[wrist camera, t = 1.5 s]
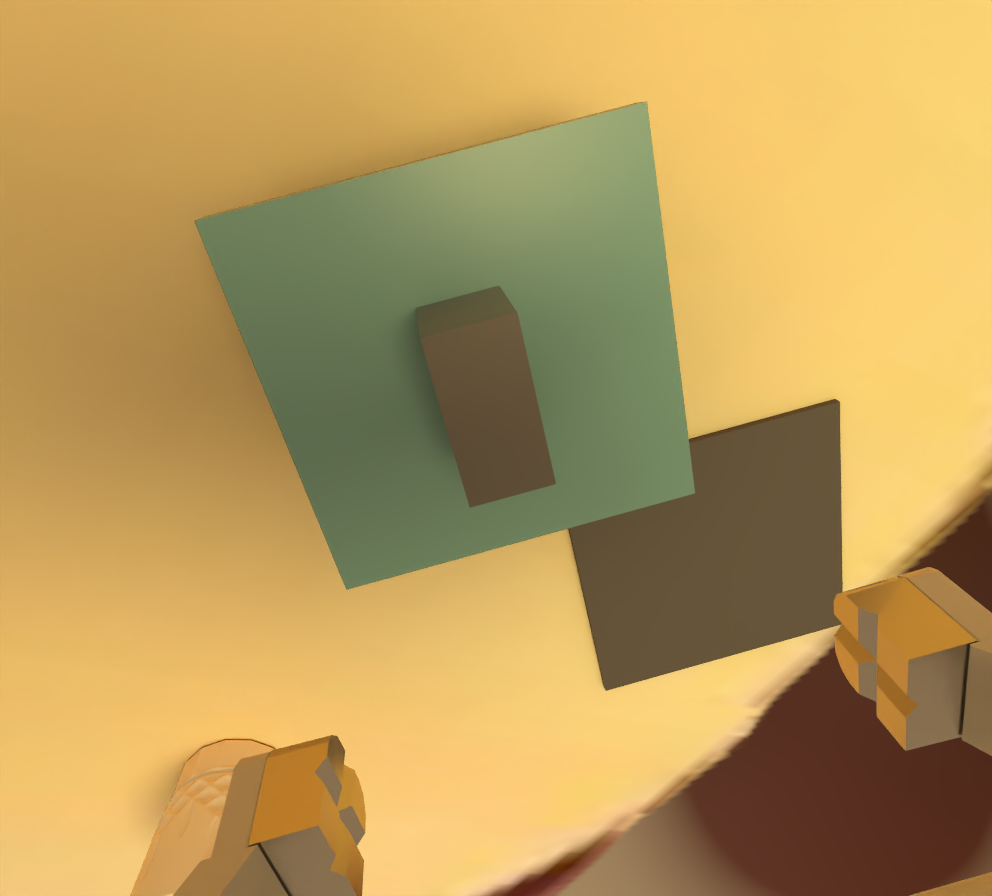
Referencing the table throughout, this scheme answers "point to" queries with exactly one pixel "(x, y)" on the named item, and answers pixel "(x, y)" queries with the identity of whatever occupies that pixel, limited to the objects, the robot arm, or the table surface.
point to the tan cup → (192, 817)
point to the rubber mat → (721, 552)
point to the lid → (467, 342)
